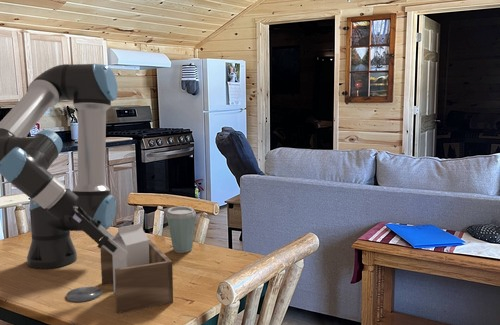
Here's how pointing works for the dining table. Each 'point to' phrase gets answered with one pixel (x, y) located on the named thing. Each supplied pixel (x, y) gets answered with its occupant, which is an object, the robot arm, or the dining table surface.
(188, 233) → the disposable coffee cup
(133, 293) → the walnut cubby
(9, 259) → the dining table surface
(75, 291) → the disc
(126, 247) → the milk carton
